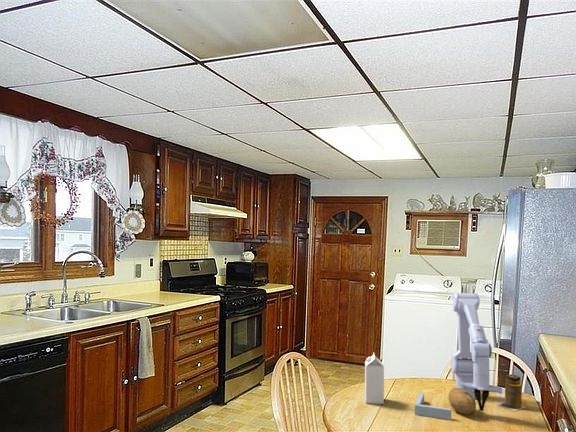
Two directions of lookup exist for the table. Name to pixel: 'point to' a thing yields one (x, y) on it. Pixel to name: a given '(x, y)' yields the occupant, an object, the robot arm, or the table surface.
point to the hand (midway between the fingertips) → (481, 409)
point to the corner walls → (431, 409)
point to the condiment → (513, 393)
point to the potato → (461, 401)
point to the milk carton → (374, 380)
